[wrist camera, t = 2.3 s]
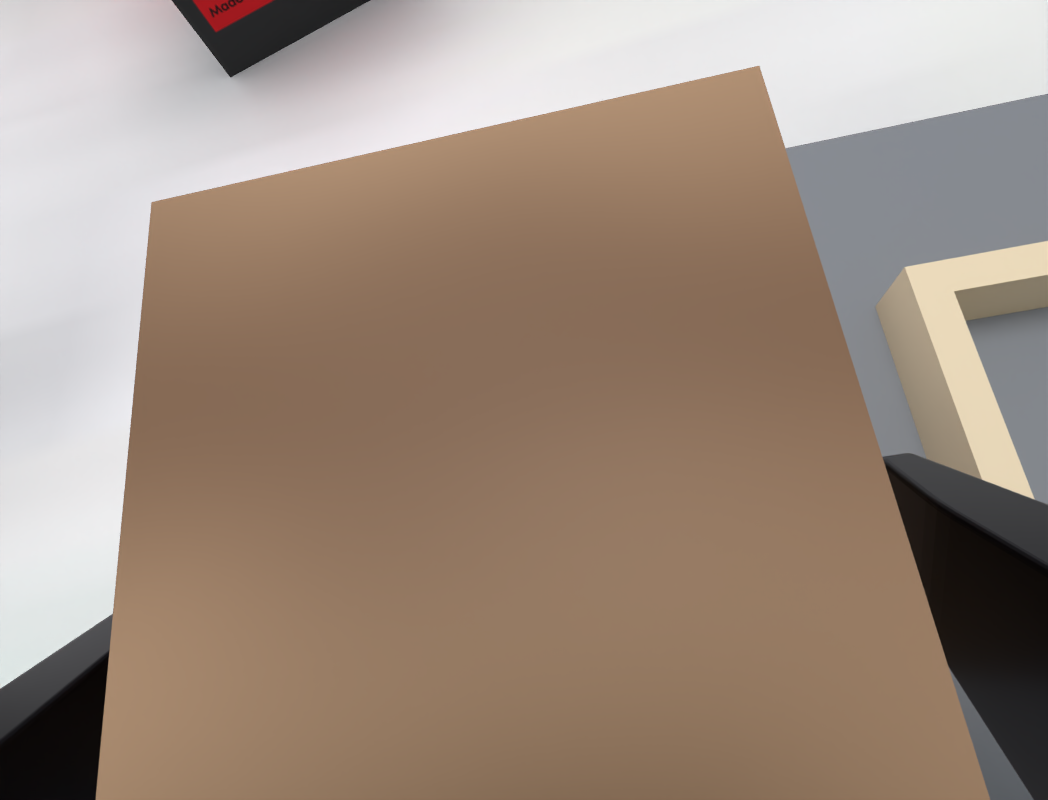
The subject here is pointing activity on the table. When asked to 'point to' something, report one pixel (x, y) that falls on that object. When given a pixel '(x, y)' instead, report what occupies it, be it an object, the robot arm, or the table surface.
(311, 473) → the pillar
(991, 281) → the board
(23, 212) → the table surface
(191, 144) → the table surface
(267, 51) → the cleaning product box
